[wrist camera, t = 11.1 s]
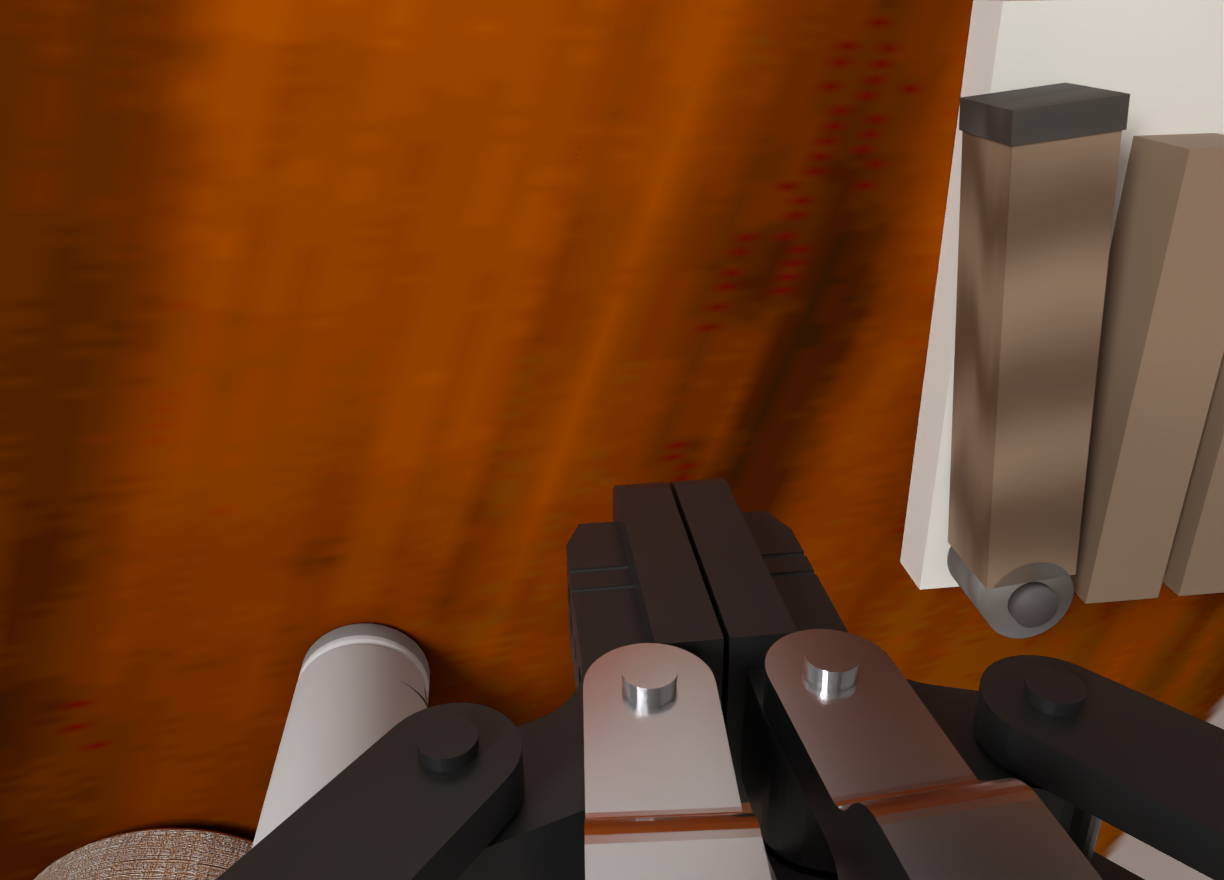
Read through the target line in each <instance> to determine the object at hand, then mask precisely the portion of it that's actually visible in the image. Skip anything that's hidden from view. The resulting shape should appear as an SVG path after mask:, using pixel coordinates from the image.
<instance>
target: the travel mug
mask: <svg viewBox="0 0 1224 880" xmlns="http://www.w3.org/2000/svg"><path fill="white" fill-rule="evenodd" d="M429 685H430V668H429V664H428V660H427V658H426V656H425V655H424V653H423V651H422V650H421V648H420V647H419V646H418V645H417V644H416V643H415V642H414V641H413V640H412V639H410V638H409V637H408V636H407V635H405V634H403V633H401V632H399V631H398V630H396V629H393V628H390V627H387V626H384V625H378V624H371V623H363V624H353V625H346V626H343V627H340V628H338V629H335V630H332V631H331V632H329V633H327V634H325V635H323V636H322V637H321V638H320V639H318V640H317V641H316V642H315V643H314V644H313V645H312V647H311V648H310V649H309V650H308V652H307V654H306V656H305V658H304V660H303V663H302V667H301V671H300V674H299V678H298V682H297V685H296V689H295V692H294V696H293V700H292V703H291V707H290V711H289V714H288V718H287V722H286V725H285V729H284V733H283V736H282V740H281V743H280V747H279V751H278V754H277V758H276V762H275V765H274V769H273V773H272V776H271V780H270V783H269V787H268V791H267V794H266V798H265V802H264V805H263V809H262V813H261V816H260V820H259V824H258V827H257V831H256V834H255V838H254V842H253V845H252V848H253V847H254V846H255V845H256V844H258V843H259V842H260V841H261V840H262V839H263V838H265V837H266V836H267V835H268V834H269V833H270V832H272V831H273V830H274V829H275V828H276V827H277V826H279V825H280V824H281V823H282V822H283V821H284V820H286V819H287V818H288V817H289V816H290V815H291V814H293V813H294V812H295V811H296V810H297V809H298V808H300V807H301V806H302V805H303V804H304V803H305V802H307V801H308V800H309V799H310V798H311V797H312V796H314V795H315V794H316V793H317V792H318V791H319V790H321V789H322V788H323V787H324V786H325V785H326V784H328V783H329V782H330V781H331V780H332V779H333V778H335V777H336V776H337V775H338V774H339V773H340V772H342V771H343V770H344V769H345V768H346V767H347V766H349V765H350V764H351V763H352V762H353V761H354V760H356V759H357V758H358V757H359V756H360V755H361V754H363V753H364V752H365V751H366V750H367V749H368V748H370V747H371V746H372V745H373V744H374V743H375V742H377V741H378V740H379V739H380V738H381V737H382V736H384V735H385V734H386V733H387V732H388V731H389V730H391V729H392V728H393V727H394V726H395V725H397V724H398V723H399V722H401V721H402V720H403V719H405V718H407V717H408V716H410V715H412V714H414V713H416V712H418V711H421V710H423V709H426V708H428V696H429Z"/></svg>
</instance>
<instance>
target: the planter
mask: <svg viewBox="0 0 1224 880" xmlns="http://www.w3.org/2000/svg"><path fill="white" fill-rule="evenodd" d="M253 842H254V841H253V840H250V839H247V838H243V837H240V836H236V835H232V834H228V833H223V832H218V831H213V830H207V829H197V828H152V829H143V830H137V831H131V832H126V833H121V834H117V835H113V836H109V837H106V838H102V839H99V840H96V841H94V842H91V843H88V844H86V845H84V846H82V847H79V848H77V849H75V850H73V851H71V852H69V853H68V854H66V855H64V856H62V857H61V858H59V859H58V860H56V861H55V862H53V863H52V864H51V865H49V866H48V867H47V868H46V869H44V870H43V871H42V872H41V873H40V874H39V875H38V876H37V877H36V878H35V879H34V880H216V879H217V878H218V877H219V876H220V875H222V874H223V873H224V872H225V871H226V870H227V869H229V868H230V867H231V866H232V865H233V864H234V863H236V862H237V861H238V860H239V859H240V858H241V857H242V856H244V855H245V854H246V853H247V852H248V851H249V850H251V849H252V845H253Z"/></svg>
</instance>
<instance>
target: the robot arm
mask: <svg viewBox="0 0 1224 880" xmlns="http://www.w3.org/2000/svg"><path fill="white" fill-rule="evenodd" d="M566 554H567V578H568V602H569V626H570V643H571V651H572V659H573V666H574V676H575V684H576V691H575V692H574V694H573V695H572V697H571V698H570V699H568V700H567V701H566V702H565V703H564V704H563V705H562V706H560V707H559V708H558V709H556V710H555V711H553V712H551V713H549V714H548V715H546V716H544V717H541V718H539V719H536V720H534V721H531V722H528V723H525V724H522V725H519V726H515V725H514V724H513V722H512V721H511V720H510V719H509V718H508V717H506V716H505V715H504V714H502V713H501V712H499V711H497V710H495V709H493V708H490V707H487V706H484V705H479V704H474V703H447V704H441V705H436V706H433V707H429V708H426V709H423V710H421V711H418V712H416V713H414V714H412V715H410V716H408V717H407V718H405V719H403V720H402V721H401V722H399V723H398V724H397V725H395V726H394V727H393V728H392V729H391V730H389V731H388V732H387V733H386V734H385V735H384V736H382V737H381V738H380V739H379V740H378V741H377V742H375V743H374V744H373V745H372V746H371V747H370V748H368V749H367V750H366V751H365V752H364V753H363V754H361V755H360V756H359V757H358V758H357V759H356V760H354V761H353V762H352V763H351V764H350V765H349V766H347V767H346V768H345V769H344V770H343V771H342V772H340V773H339V774H338V775H337V776H336V777H335V778H333V779H332V780H331V781H330V782H329V783H328V784H326V785H325V786H324V787H323V788H322V789H321V790H319V791H318V792H317V793H316V794H315V795H314V796H312V797H311V798H310V799H309V800H308V801H307V802H305V803H304V804H303V805H302V806H301V807H300V808H298V809H297V810H296V811H295V812H294V813H293V814H291V815H290V816H289V817H288V818H287V819H286V820H284V821H283V822H282V823H281V824H280V825H279V826H277V827H276V828H275V829H274V830H273V831H272V832H270V833H269V834H268V835H267V836H266V837H265V838H263V839H262V840H261V841H260V842H259V843H258V844H256V845H255V846H254V847H253V848H252V849H251V850H249V851H248V852H247V853H246V854H245V855H244V856H242V857H241V858H240V859H239V860H238V861H237V862H236V863H234V864H233V865H232V866H231V867H230V868H229V869H227V870H226V871H225V872H224V873H223V874H222V875H220V876H219V877H218V878H217V879H216V880H1144V879H1142V878H1141V877H1139V876H1137V875H1135V874H1133V873H1132V872H1130V871H1128V870H1126V869H1124V868H1123V867H1121V866H1119V865H1117V864H1115V863H1114V862H1112V861H1110V860H1108V859H1106V858H1105V857H1103V856H1101V855H1099V854H1097V853H1096V852H1094V848H1095V844H1096V840H1097V837H1098V833H1099V829H1100V825H1101V822H1102V820H1103V821H1105V822H1107V823H1109V824H1110V825H1112V826H1114V827H1116V828H1118V829H1120V830H1122V831H1124V832H1125V833H1127V834H1129V835H1131V836H1133V837H1135V838H1137V839H1139V840H1141V841H1142V842H1144V843H1146V844H1148V845H1150V846H1152V847H1154V848H1155V849H1157V850H1159V851H1161V852H1163V853H1165V854H1167V855H1169V856H1171V857H1172V858H1174V859H1176V860H1178V861H1180V862H1182V863H1184V864H1185V865H1187V866H1189V867H1191V868H1193V869H1195V870H1197V871H1199V872H1200V873H1203V874H1204V875H1206V876H1208V877H1210V878H1212V879H1214V880H1224V730H1223V729H1221V728H1219V727H1217V726H1214V725H1212V724H1210V723H1207V722H1205V721H1203V720H1201V719H1198V718H1196V717H1194V716H1192V715H1189V714H1187V713H1185V712H1182V711H1180V710H1178V709H1176V708H1173V707H1171V706H1169V705H1167V704H1164V703H1162V702H1160V701H1157V700H1155V699H1153V698H1151V697H1148V696H1146V695H1144V694H1142V693H1139V692H1137V691H1135V690H1132V689H1130V688H1128V687H1126V686H1123V685H1121V684H1119V683H1117V682H1114V681H1112V680H1110V679H1107V678H1105V677H1103V676H1101V675H1098V674H1096V673H1094V672H1092V671H1089V670H1087V669H1085V668H1082V667H1080V666H1077V665H1075V664H1072V663H1070V662H1066V661H1063V660H1060V659H1056V658H1051V657H1045V656H1036V655H1020V656H1012V657H1008V658H1004V659H1001V660H999V661H997V662H994V663H993V664H992V665H990V666H989V667H988V668H987V669H986V670H985V671H984V673H983V675H982V677H981V681H980V686H979V691H974V690H966V689H959V688H951V687H944V686H937V685H930V684H924V683H919V682H915V681H912V680H908V679H905V677H904V676H903V674H902V673H901V672H900V670H899V669H898V667H897V666H896V665H895V663H894V662H893V661H892V659H891V658H890V657H889V656H888V655H887V653H886V652H884V651H883V650H882V649H881V648H880V647H878V646H877V645H875V644H874V643H872V642H870V641H868V640H866V639H864V638H862V637H860V636H857V635H854V634H851V633H848V631H847V629H846V628H845V626H844V624H843V622H842V620H841V619H840V617H839V615H838V613H837V611H836V609H835V608H834V606H833V604H832V602H831V600H830V599H829V597H828V595H827V593H826V591H825V589H824V588H823V586H822V584H821V582H820V580H819V579H818V577H817V575H814V569H813V568H812V566H811V564H810V562H809V560H808V559H807V557H806V556H804V551H803V549H802V548H801V546H800V544H799V542H798V540H797V539H796V537H795V535H794V533H793V531H792V529H790V528H789V527H787V526H786V525H785V524H783V523H782V522H780V521H779V520H778V519H776V518H775V517H773V516H772V515H771V514H769V513H768V512H766V511H757V512H743V513H741V511H740V509H739V507H738V505H737V503H736V500H735V498H734V496H733V494H732V492H731V490H730V488H729V486H728V483H727V482H726V480H725V479H724V478H719V479H704V480H689V481H674V482H670V485H669V484H668V482H662V483H647V484H632V485H617V486H614V489H613V522H604V523H590V524H579V525H578V527H577V529H576V530H575V532H574V534H573V535H572V537H571V539H570V540H569V542H568V544H567V545H566ZM748 802H749V803H750V806H751V809H752V812H753V813H743V811H742V806H741V803H748Z"/></svg>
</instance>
